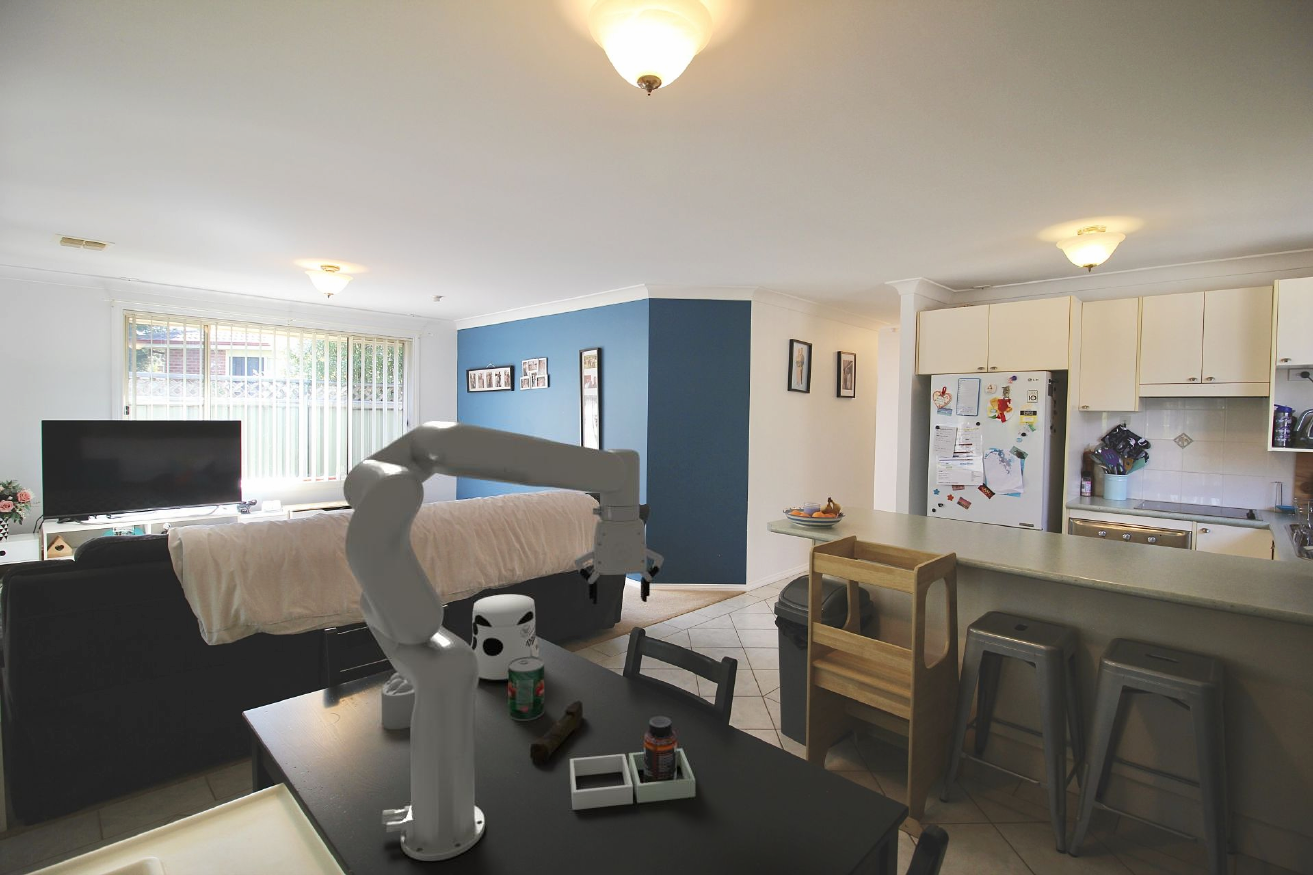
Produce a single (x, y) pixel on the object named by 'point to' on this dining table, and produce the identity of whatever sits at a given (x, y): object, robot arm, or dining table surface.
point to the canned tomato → (526, 688)
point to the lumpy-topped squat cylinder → (397, 703)
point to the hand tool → (557, 733)
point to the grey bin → (604, 794)
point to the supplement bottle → (660, 751)
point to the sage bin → (662, 788)
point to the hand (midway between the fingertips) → (619, 601)
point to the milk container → (503, 633)
